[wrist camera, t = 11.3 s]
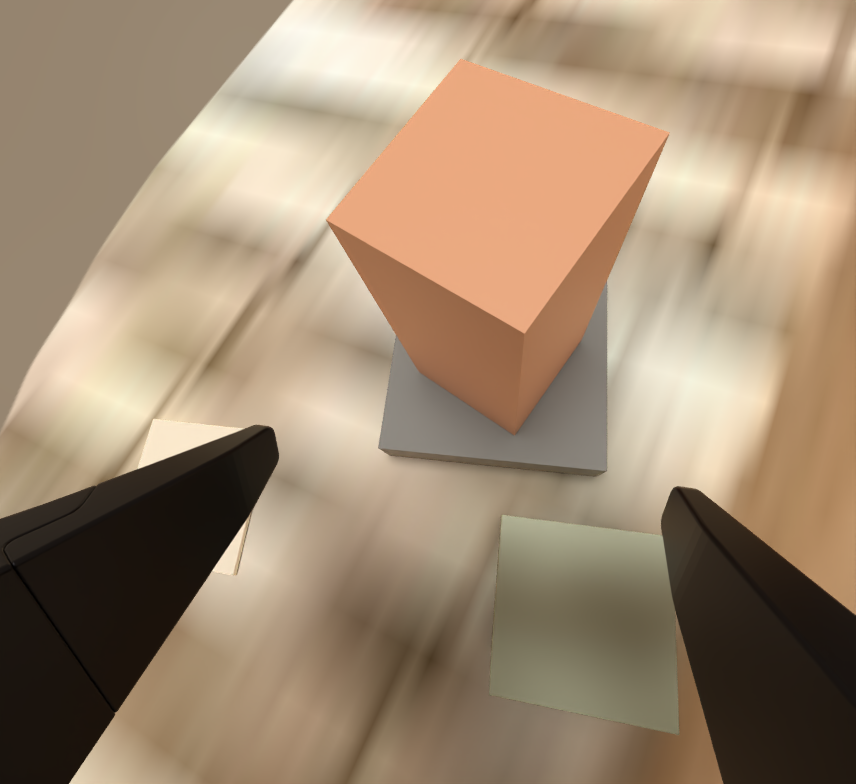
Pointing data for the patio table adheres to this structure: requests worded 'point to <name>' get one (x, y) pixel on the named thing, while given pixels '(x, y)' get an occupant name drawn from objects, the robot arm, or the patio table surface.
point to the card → (182, 437)
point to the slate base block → (490, 443)
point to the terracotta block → (496, 231)
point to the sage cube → (585, 622)
